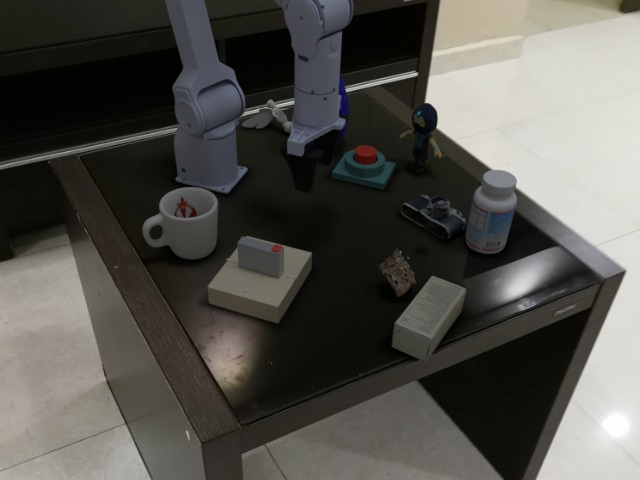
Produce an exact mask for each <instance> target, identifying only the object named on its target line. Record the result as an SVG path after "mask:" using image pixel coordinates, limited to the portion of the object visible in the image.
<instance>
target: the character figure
mask: <svg viewBox="0 0 640 480" xmlns="http://www.w3.org/2000/svg"><path fill="white" fill-rule="evenodd" d="M438 116H439V115H438V111H437V109H436V108H435V106H433V104H431V103H429V102H423V103H422V104H420V105H418V106H417V107H415V108H414V110H413V111H412V115H411V125H412V129H409V130H406V131H404V132H403V133H401V134H400V135H399V139H403V138H405V137H408V136H412V135H415V139H414V147H413V149H412V151H411V155H412V157H413V163H411V164H410V165H409V166H408V170H409V171H414V173H415V174H421V173H423V172H424V171H425V169H426V168H425V167H426V161H427V160H428V159H429V147H430V146H429V144H430V145H431V147H432V149H433V151H434V158H437V157H438V158H439V159H442V158H443V153H442V152H441V150H440V148H439V146H438V143H437V142H436V140H435V139H434V137H433V135H432V132H434V131H435V130H436V129H437V127H438V121H439V117H438Z"/></svg>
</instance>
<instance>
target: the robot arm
mask: <svg viewBox="0 0 640 480" xmlns="http://www.w3.org/2000/svg"><path fill="white" fill-rule="evenodd" d="M273 1H274V2H275V3H276V4H277V5H278V6H279V7H280V8H281V9H282V10H283V16H284V21H285V25H286V27H287V30H288V31H289V34H290V37H291V38H290V39H291V48H292V50H293V53H294V85H293V86H294V87H293V88H294V90H293V93H294V95H293V114H292V117H291V122H292V127H291V133H290V135H289V137H288V138H287V139H286V138H285V139H284V140H283V141H282V142H281V144H280V145H279V152H280V154H281V156H282V157H283V159H284V160H285V162H286V163H287V166H288V169H289V170H290V174H291V177H292V181H293V185H294V188H295V190H296V191H298V192H302V193H307V194H310V193H311V192H312V190H313V187H314V182H315V177H316V171H317V168H318V165H323V166H327V167H330V166H331V164H332V161H333V158H334V156H335V151H336V149H337V145H338V144H337V142H338V139H339V136H340V134H341V132H342V130H343V128H344V126H345V124H346V123H347V121H348V122H349V117H348V116H347V115H345V114H341V113H339V109H340V108H341V95H338V93H339V77H340V74H341V58H342V57H341V56H342V41H343V39H342V38H343V31H342V30H343V29H345V28H346V27H348V26H349V25H350V23H351V21H352V19H353V16H354V2H353V0H273ZM164 2H165V5H166V9H167V13H168V16H169V21H170V24H171V28H172V31H173V35H174V38H175V42H176V46H177V49H178V53H179V57H180V60H181V65H182V70H181V72H180V74H179V76H178V77H177V78H176V80H175V82H174V83H173V85H172V89H171V90H172V93H173V96H174V114H175V117H176V120H177V123H178V126H177V128H176V130H175V133H174V138H173V149H174V158H175V165H176V174H177V176H176V177H175V182H176V183H178V184H179V183H180V184H183V185H187V186H188V185H189V186H191V187H196V188H202V189H205V190H207V191H213V192H216V193H221V194H224V195H227V194H229V193H230V192H232V190H233V188H235V186H236V185H237V184H238V183H239V182H240V180H241V179H243V177H244V176H245V175H246V174H247V172H248V171H249V168H248V167H246V166H242V165H238V149H237V145H238V144H237V131H236V130H237V129H236V128H237V126H239V125H240V119H239V118H241V117H242V116H243V115H244V114H245V111H246V107H247V106H246V105H247V104H246V97H245V94H244V92H243V89H242V88H241V86H240V84H239V82H238V80H237V77H236V72H235V70H234V68H232V67H230V66H228V65H226V64H225V63H222V62H221V61H220V59H219V55H218V51H217V47H216V43H215V38H214V34H213V29H212V26H211V23H210V22H211V21H210V18H209V14H208V9H207V5H206V2H205V0H164ZM312 140H313V143H314V148H312V145H311V146H310V142H311V141H312Z"/></svg>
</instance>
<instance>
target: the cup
mask: <svg viewBox="0 0 640 480" xmlns="http://www.w3.org/2000/svg"><path fill="white" fill-rule="evenodd" d="M158 209H159V213H158V214H156V215H153V216H151V217H149V218H147V219H146V220H145V221H144V223H143V224H142V235H143V238H144V240H145V242H146V243H147V245H148V246H150V247H152V248H161V247H165V246H167V247H168V246H169V247H170V249H171V251H172V252H173V254H174V255H176V256H178V257H179V258H181V259H183V260H184V259H185V260H199V259H204V258H205V257H208V256H209V255H211V253H212V252H214V250H215V248H216V246H217V241H218V218H219V213H218V212H219V200H218V198H217V197H216V195H215V194H214V193H213V192H211V190H208V189H204V188H200V187H196V186H187V187H186V186H185V187H180V188H176V189H173V190H171V191H169V192H168V193H166V194H165V195H163V196H162V198H161V199H160V201H159V203H158ZM155 226H160V227H161V228H162V233H161V236H160V237H159V238H156V239H154V238H152V237H151V235H150V233H151V232H150V231H151V229H152V228H154V227H155Z"/></svg>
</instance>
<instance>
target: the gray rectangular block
mask: <svg viewBox="0 0 640 480" xmlns="http://www.w3.org/2000/svg"><path fill="white" fill-rule="evenodd" d="M276 244H277V243H276ZM276 244H275V245H273V244H269V243H265V242H262V241H258V240H254V239H250V238H247V237H246V236H241V237H240V239H239V240H238V241H237V243H236V246H237V247H236V249H238V265H239V267H242V268H246V269H249V270H253V271H257V272H260V273H264V274H267V275H271V276H275V277H278V278H280V276H281V275H282V273H283V272H284V247H282V246H280V245H281V244H280V245H276Z"/></svg>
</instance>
